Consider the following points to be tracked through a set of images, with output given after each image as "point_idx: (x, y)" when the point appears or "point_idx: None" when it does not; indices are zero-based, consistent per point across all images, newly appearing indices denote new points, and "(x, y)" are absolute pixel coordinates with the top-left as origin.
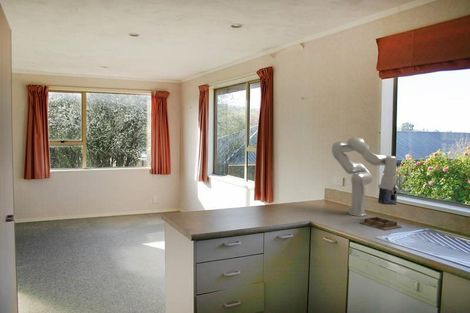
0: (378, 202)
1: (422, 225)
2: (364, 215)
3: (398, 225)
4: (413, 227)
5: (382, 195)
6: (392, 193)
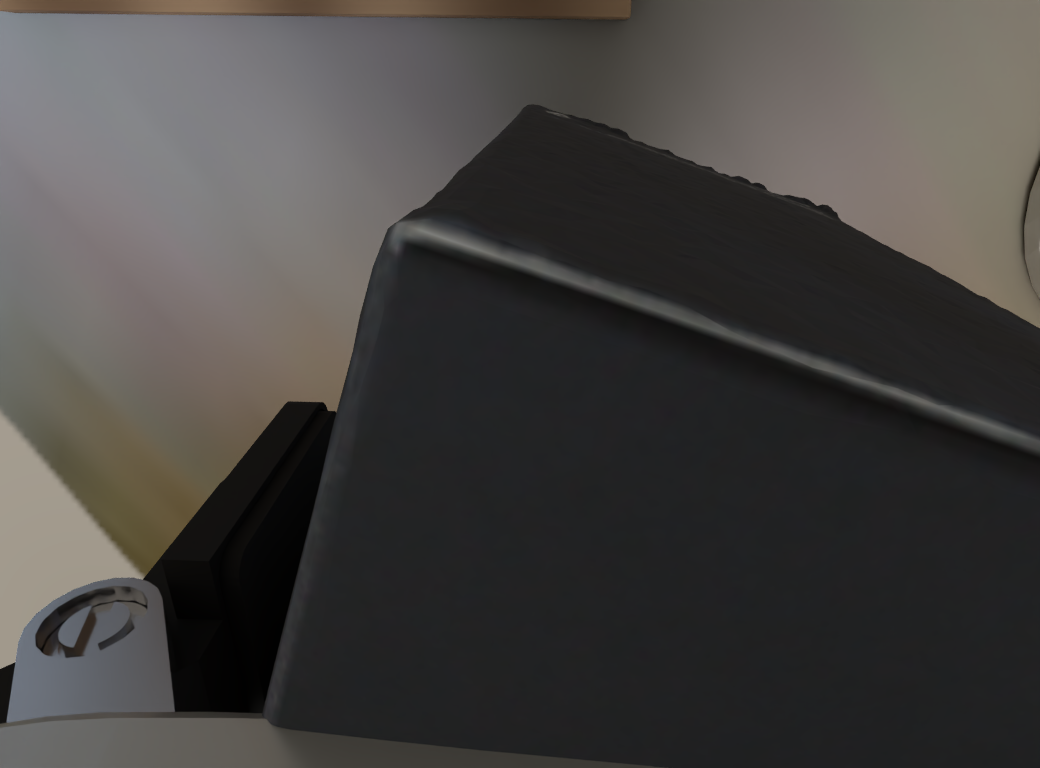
0: (801, 198)
1: (102, 503)
2: (1033, 192)
3: (59, 5)
4: (6, 261)
5: (639, 176)
6: (143, 642)
